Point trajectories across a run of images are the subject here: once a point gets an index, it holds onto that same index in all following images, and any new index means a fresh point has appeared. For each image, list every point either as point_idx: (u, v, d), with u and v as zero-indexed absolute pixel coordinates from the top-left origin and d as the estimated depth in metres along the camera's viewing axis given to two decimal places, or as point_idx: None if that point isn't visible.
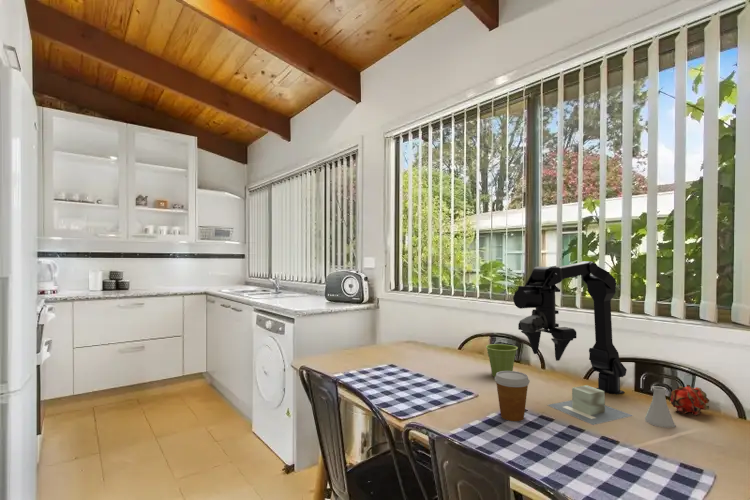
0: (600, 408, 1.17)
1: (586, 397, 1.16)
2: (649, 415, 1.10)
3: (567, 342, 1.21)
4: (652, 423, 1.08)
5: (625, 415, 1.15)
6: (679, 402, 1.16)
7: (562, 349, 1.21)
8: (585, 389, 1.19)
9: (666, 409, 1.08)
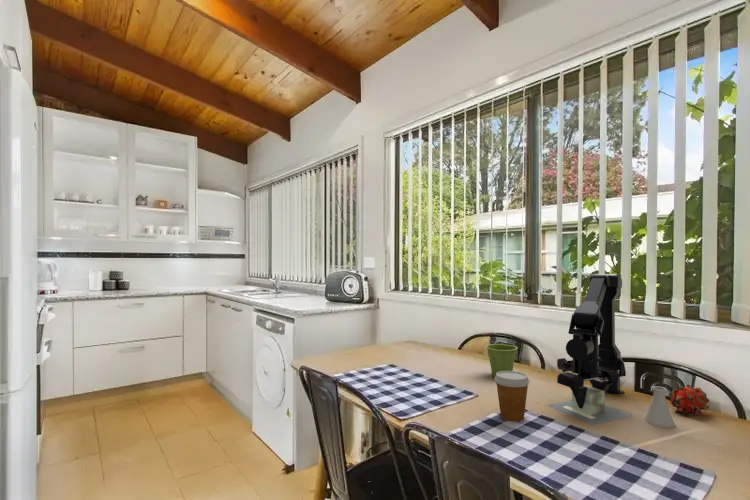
0: (600, 408, 1.17)
1: (586, 397, 1.16)
2: (649, 415, 1.10)
3: (581, 391, 1.15)
4: (652, 423, 1.08)
5: (625, 415, 1.15)
6: (679, 402, 1.16)
7: (579, 397, 1.17)
8: None
9: (666, 409, 1.08)
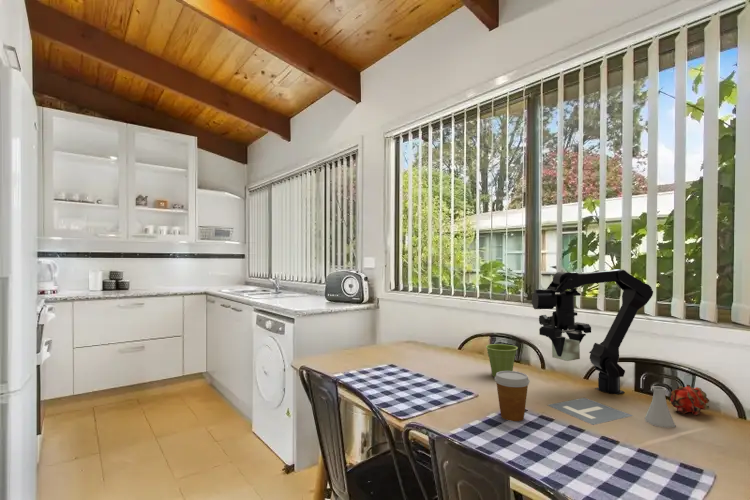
0: (576, 355, 1.35)
1: (563, 346, 1.34)
2: (649, 415, 1.10)
3: (560, 341, 1.33)
4: (652, 423, 1.08)
5: (625, 415, 1.15)
6: (679, 402, 1.16)
7: (558, 346, 1.35)
8: None
9: (666, 409, 1.08)
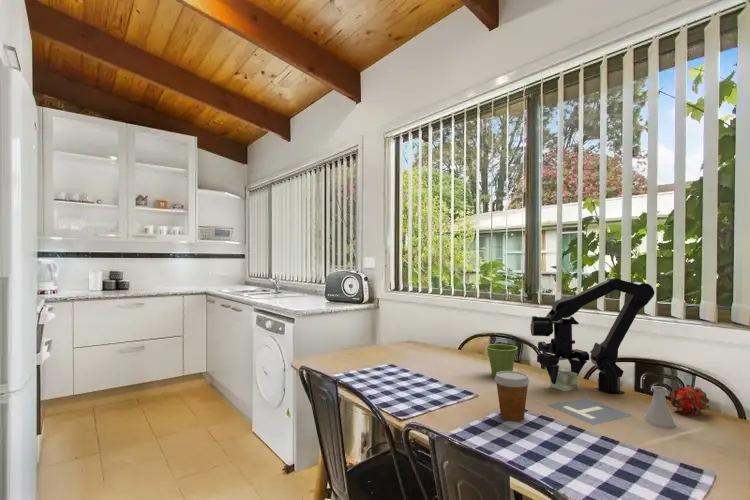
0: (573, 388, 1.37)
1: (561, 378, 1.37)
2: (649, 415, 1.10)
3: (553, 369, 1.35)
4: (652, 423, 1.08)
5: (625, 415, 1.15)
6: (679, 402, 1.16)
7: (552, 374, 1.37)
8: (561, 371, 1.40)
9: (666, 409, 1.08)
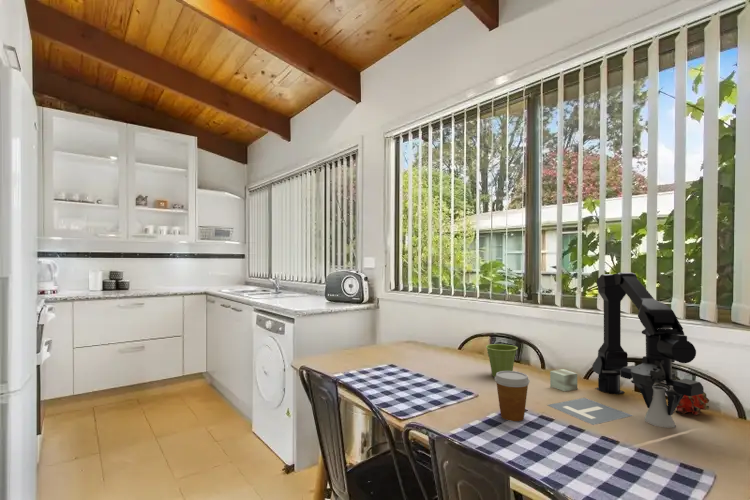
0: (573, 388, 1.37)
1: (561, 378, 1.37)
2: (649, 415, 1.10)
3: (682, 395, 1.07)
4: (652, 423, 1.08)
5: (625, 415, 1.15)
6: (679, 402, 1.16)
7: (676, 402, 1.07)
8: (561, 371, 1.40)
9: (666, 409, 1.08)
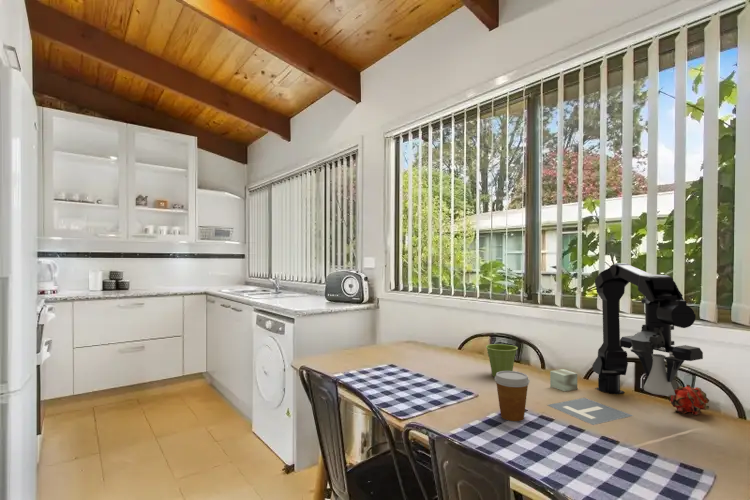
0: (573, 388, 1.37)
1: (561, 378, 1.37)
2: (648, 382, 1.10)
3: (681, 361, 1.07)
4: (651, 390, 1.09)
5: (625, 415, 1.15)
6: (679, 402, 1.16)
7: (676, 369, 1.07)
8: (561, 371, 1.40)
9: (665, 376, 1.08)
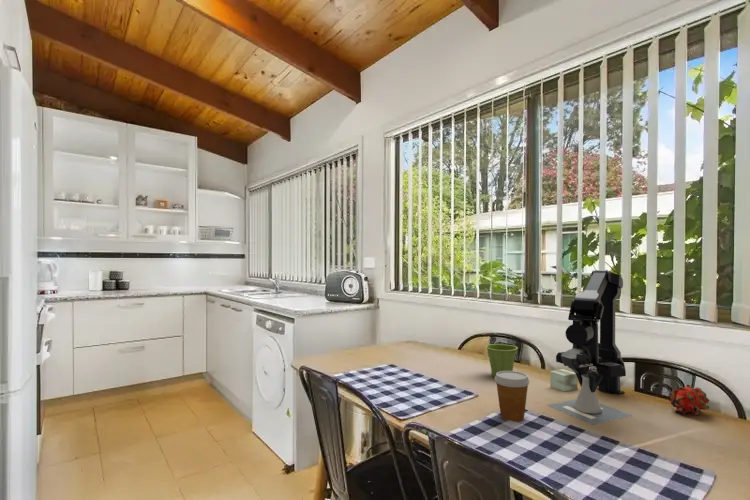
0: (573, 388, 1.37)
1: (561, 378, 1.37)
2: (579, 402, 1.18)
3: (602, 375, 1.17)
4: (583, 409, 1.17)
5: (625, 415, 1.15)
6: (679, 402, 1.16)
7: (597, 382, 1.17)
8: (561, 371, 1.40)
9: (593, 395, 1.17)
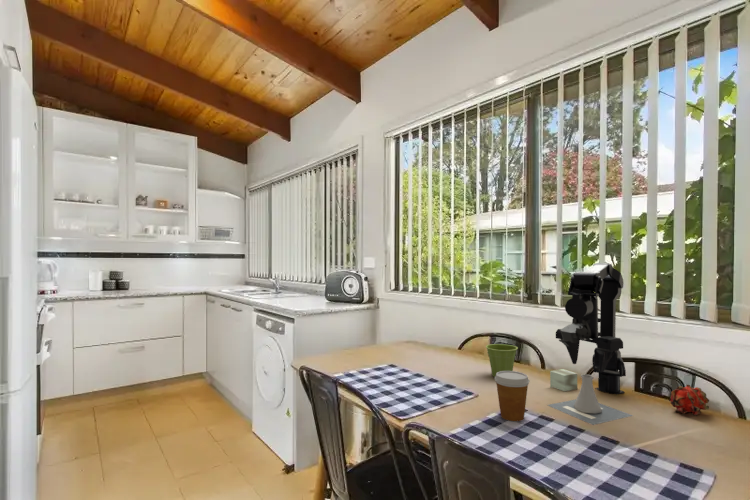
0: (573, 388, 1.37)
1: (561, 378, 1.37)
2: (579, 402, 1.18)
3: (612, 352, 1.14)
4: (583, 409, 1.17)
5: (625, 415, 1.15)
6: (679, 402, 1.16)
7: (607, 360, 1.14)
8: (561, 371, 1.40)
9: (593, 395, 1.17)
